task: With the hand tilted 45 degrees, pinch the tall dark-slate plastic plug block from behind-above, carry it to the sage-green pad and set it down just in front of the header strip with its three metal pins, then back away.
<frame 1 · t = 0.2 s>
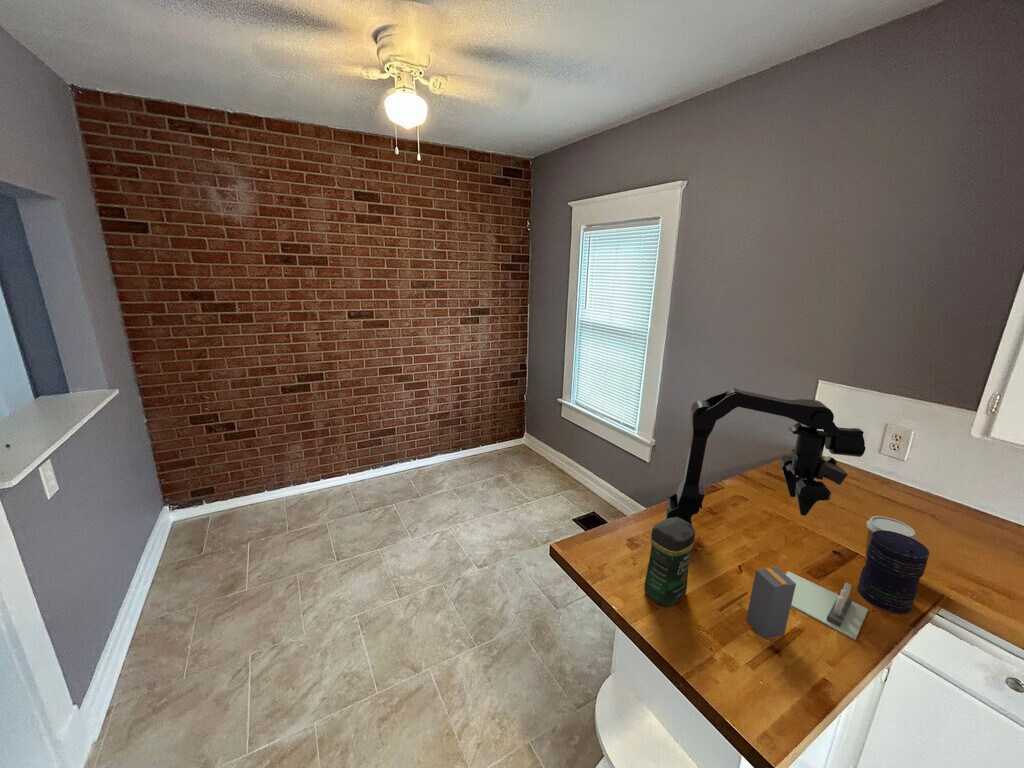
hand: (797, 505, 109), 15 cm above the worktop, tool pointing down, fingers open, 9 cm apart
plug block: (764, 627, 90), on the worktop
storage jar: (883, 598, 98), on the worktop
disposable coffee cup: (880, 566, 109), on the worktop
coffee jar: (665, 593, 99), on the worktop
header: (812, 600, 97), on the worktop
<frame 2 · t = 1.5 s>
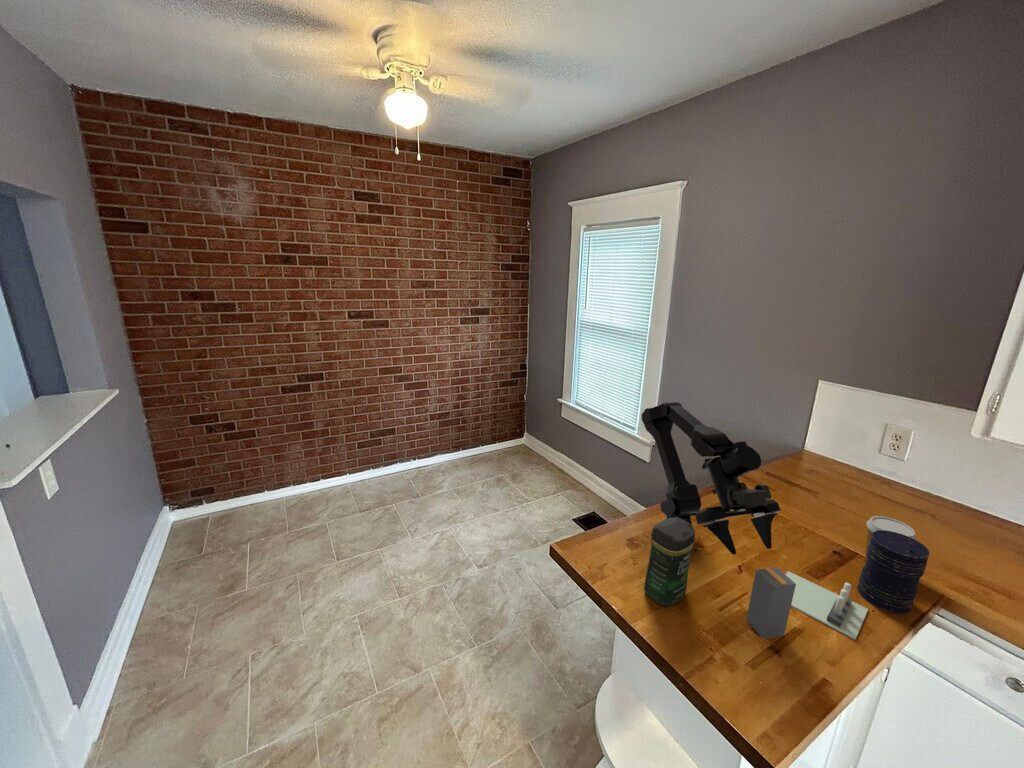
hand: (752, 551, 93), 13 cm above the worktop, tool tilted 45°, fingers open, 9 cm apart
nothing on the worktop moved.
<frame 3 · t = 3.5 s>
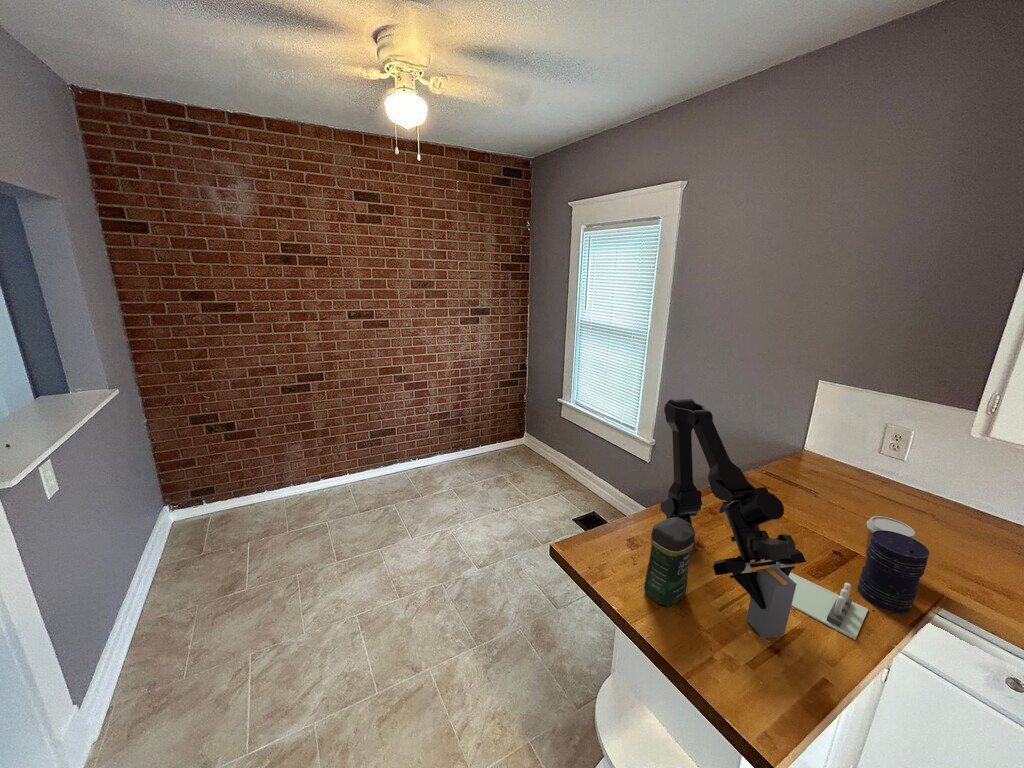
hand: (775, 607, 87), 7 cm above the worktop, tool tilted 45°, fingers closed on plug block, 5 cm apart
plug block: (764, 627, 90), on the worktop, touching gripper
everything else where it was.
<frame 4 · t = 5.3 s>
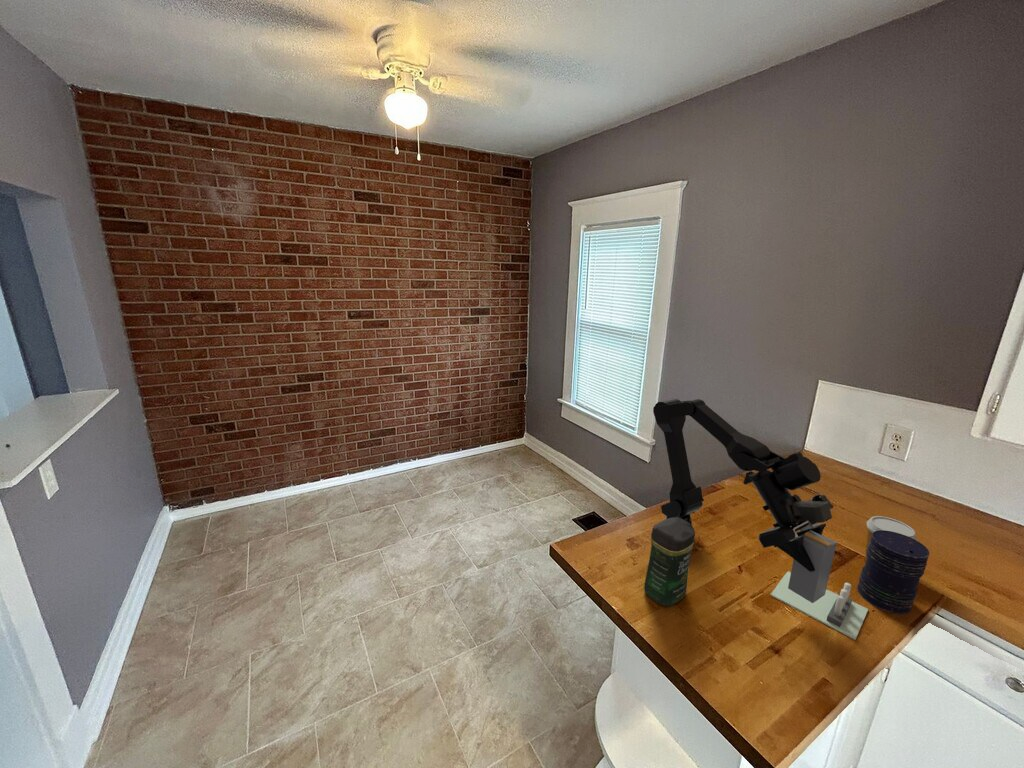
hand: (819, 566, 89), 13 cm above the worktop, tool tilted 45°, fingers closed on plug block, 5 cm apart
plug block: (806, 591, 92), point 6 cm above the worktop, touching gripper
everything else where it was.
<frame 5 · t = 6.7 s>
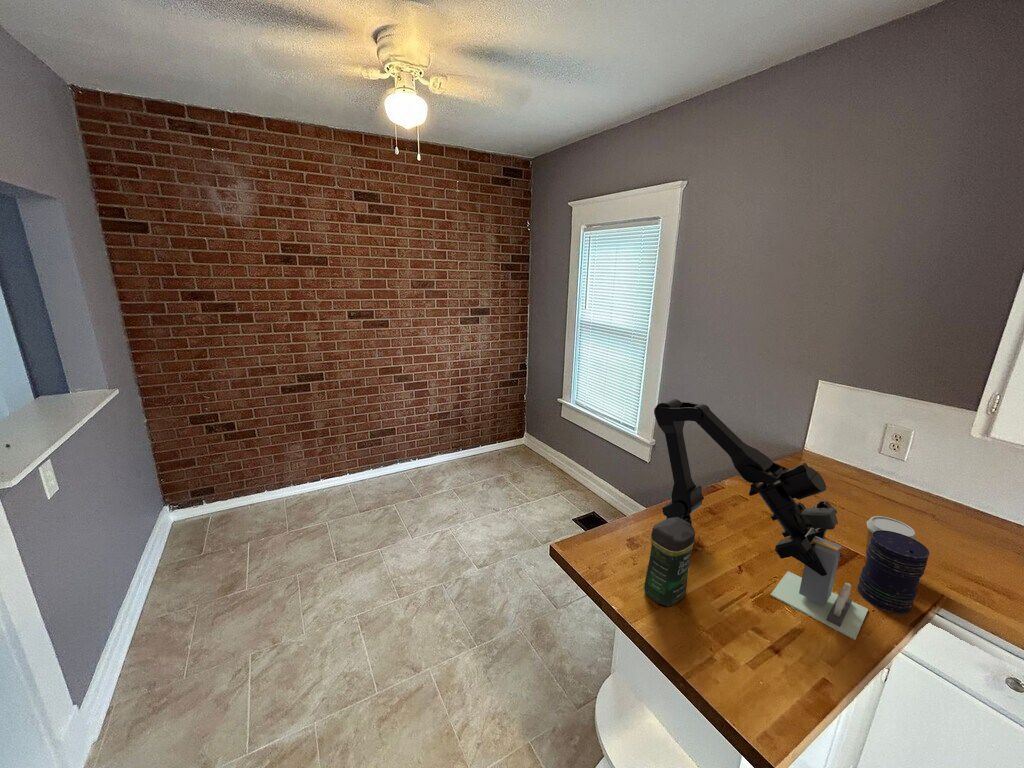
hand: (827, 569, 94), 9 cm above the worktop, tool tilted 45°, fingers closed on plug block, 5 cm apart
plug block: (814, 594, 97), point 2 cm above the worktop, touching gripper
everything else where it was.
when the fingers open (8 cm above the worktop, at t = 7.4 s): plug block stays where it is, resting on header.
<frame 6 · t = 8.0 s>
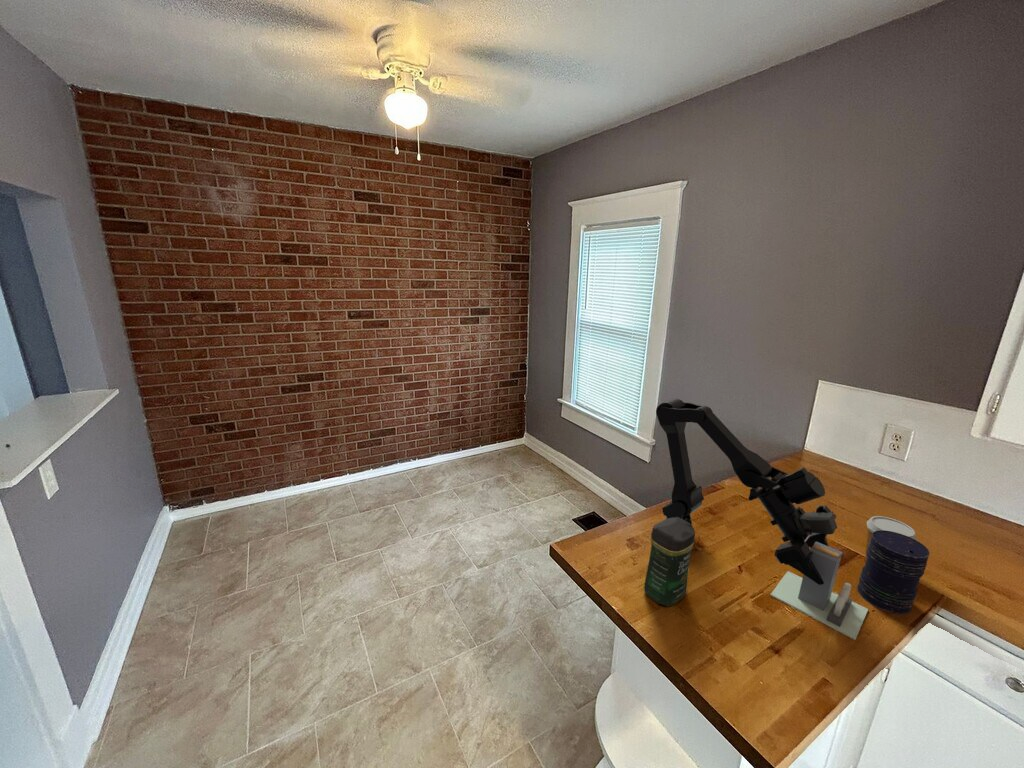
hand: (827, 574, 94), 8 cm above the worktop, tool tilted 45°, fingers open, 9 cm apart
plug block: (813, 599, 97), resting on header
everything else where it was.
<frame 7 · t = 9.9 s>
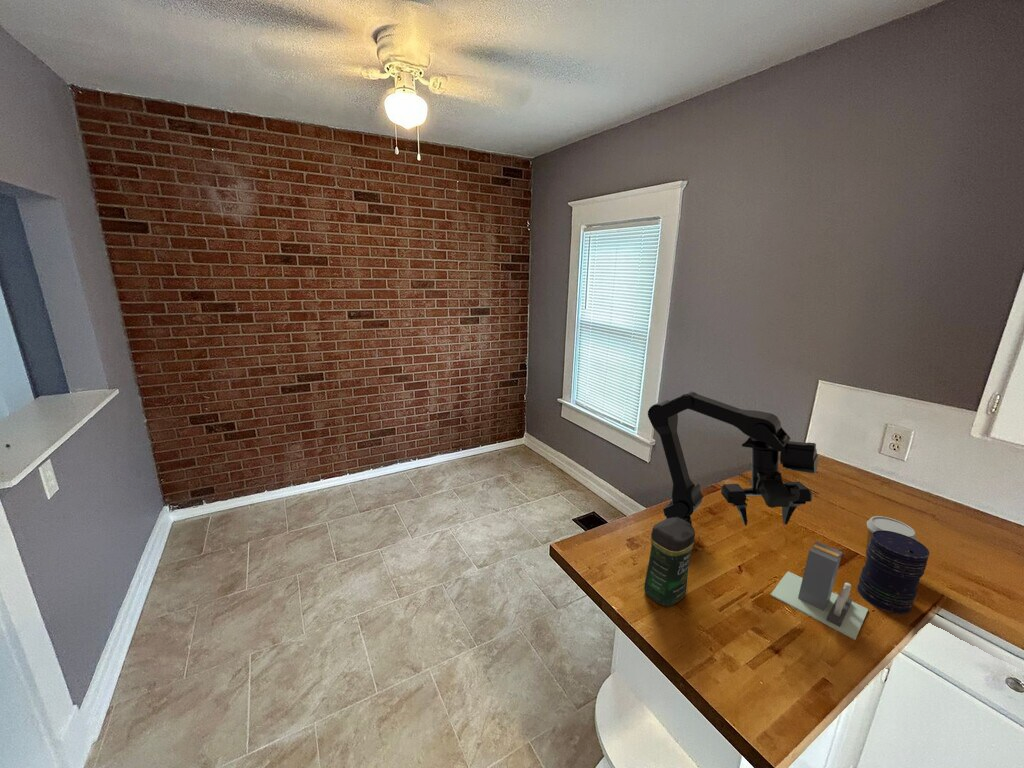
hand: (764, 524, 105), 12 cm above the worktop, tool pointing down, fingers open, 9 cm apart
nothing on the worktop moved.
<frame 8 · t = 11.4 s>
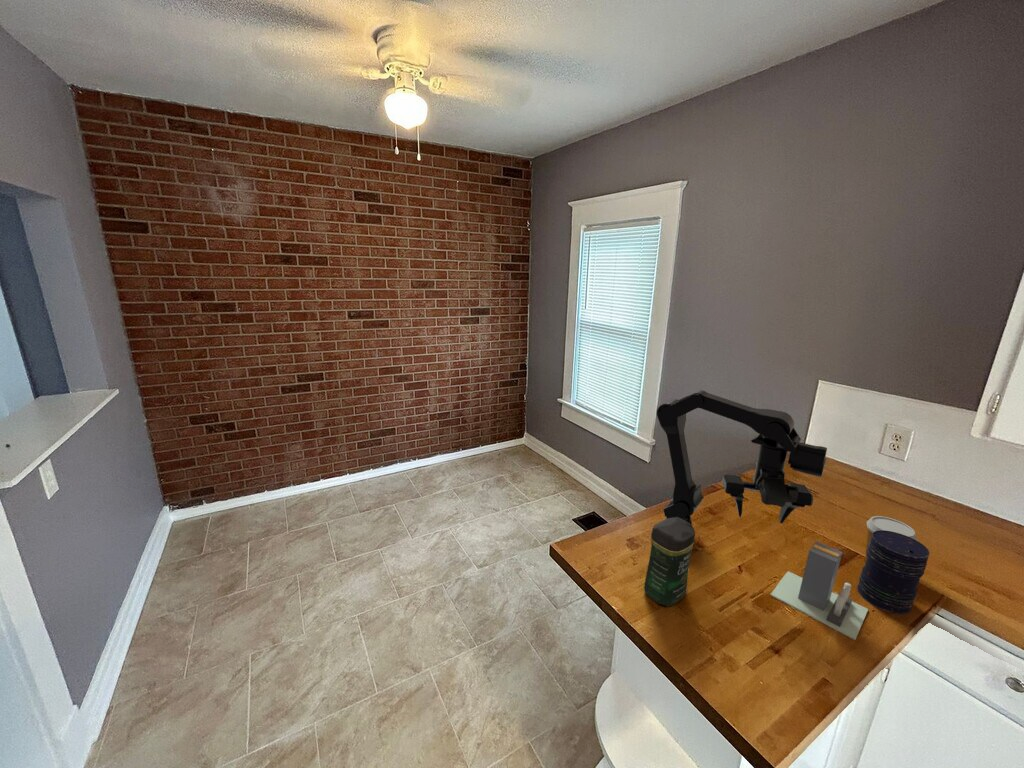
hand: (759, 519, 106), 13 cm above the worktop, tool pointing down, fingers open, 9 cm apart
nothing on the worktop moved.
at the end: plug block inside the target area (0.1 cm from its centre), resting on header; plug block tilted 0°; the gripper is holding nothing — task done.
